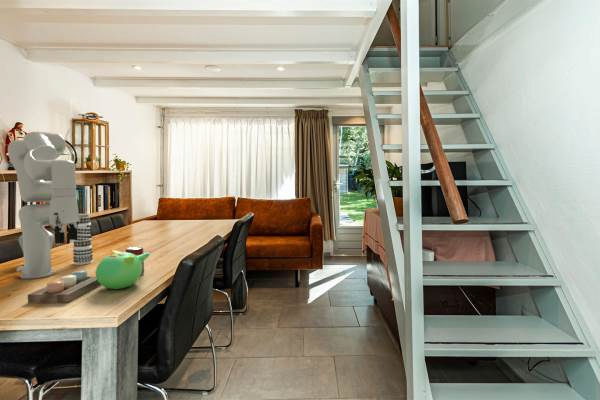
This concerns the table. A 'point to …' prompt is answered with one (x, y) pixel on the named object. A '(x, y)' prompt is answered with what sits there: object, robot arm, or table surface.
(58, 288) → the terracotta button
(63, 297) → the brown wooden tray
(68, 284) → the cream button
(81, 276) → the slate-blue button
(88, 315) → the table surface
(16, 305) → the table surface
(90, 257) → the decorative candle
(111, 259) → the green rounded body
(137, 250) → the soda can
